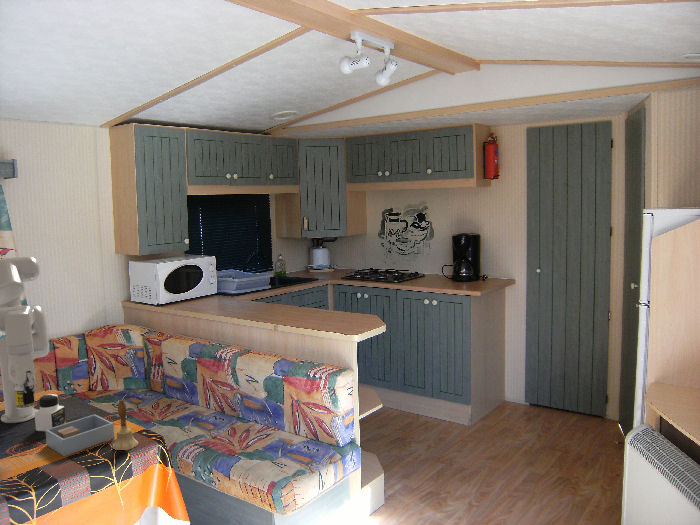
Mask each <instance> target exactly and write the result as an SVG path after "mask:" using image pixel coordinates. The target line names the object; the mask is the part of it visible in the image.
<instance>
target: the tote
mask: <svg viewBox="0 0 700 525" xmlns="http://www.w3.org/2000/svg"><path fill="white" fill-rule="evenodd" d="M71 426H73V427H75V428H76V429H78V430H79V434H77V435H74V436H71V437H68V438H65V439H63V438H61V437H60V436H58V435H57V431H58V430H61V429H65V428H68V427H71ZM114 428H115V425H114V422H111V421H109V420H107V419H105V418H104V417H102V416H99V415H97V414H96V413H95V414H91V415H89V416H88V415H87V416H84V417H82V418H79V419H76V420H72V421H69V422H66V424H62V425H59V426H56V427H53V428H50V429H46V430H45V431H44V432H45V439H46V443H45V444H46V446H47V447H49V448H51V449H52V450H53V451H55V452H56V453H58V454H60V455H61V456H63V457H66V456H69V455H72V454H74V453H77V452H80V451H84V450H86V449H89V448H91V447H90V446H92V447H94V446H93V445H95V446H97V445H100V444H103V443H106V442H108V440H109V441H111V439H112V440H114V439H115V429H114ZM105 441H106V442H105ZM102 442H103V443H102ZM99 443H100V444H99ZM96 444H97V445H96ZM88 447H89V448H88ZM85 448H86V449H85Z"/></svg>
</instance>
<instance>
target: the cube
mask: <svg viewBox="0 0 700 525" xmlns="http://www.w3.org/2000/svg"><path fill="white" fill-rule="evenodd" d="M77 434H79V430H78V429H76V428H75V427H73V426H71V427H68V428H65V429H61V430H58V431H57V435H58V436H60V437H61V438H63V439H65V438H68V437H71V436H74V435H77Z"/></svg>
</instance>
